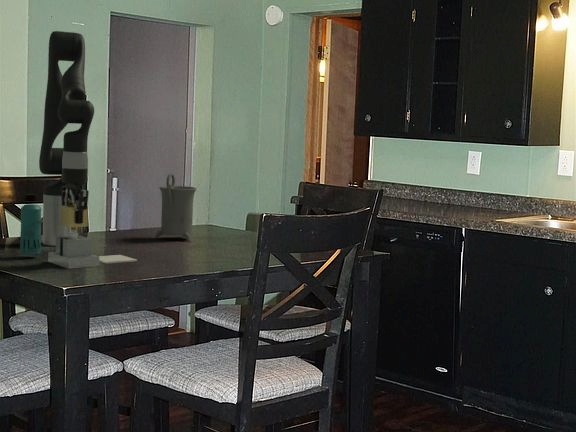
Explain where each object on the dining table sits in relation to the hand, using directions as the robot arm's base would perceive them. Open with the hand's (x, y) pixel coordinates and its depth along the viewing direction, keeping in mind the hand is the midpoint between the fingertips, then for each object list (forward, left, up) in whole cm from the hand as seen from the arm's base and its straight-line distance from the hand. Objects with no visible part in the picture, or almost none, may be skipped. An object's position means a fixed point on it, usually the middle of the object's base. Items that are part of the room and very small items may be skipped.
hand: (74, 222), depth 279 cm
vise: (0, 0, -13) cm, 13 cm away
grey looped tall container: (-35, +58, -13) cm, 69 cm away
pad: (-2, +14, -13) cm, 19 cm away
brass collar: (0, 0, -1) cm, 1 cm away
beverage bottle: (-16, -7, -13) cm, 22 cm away
